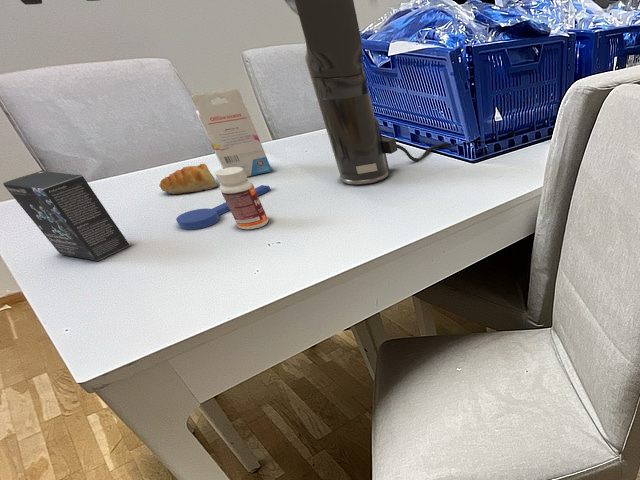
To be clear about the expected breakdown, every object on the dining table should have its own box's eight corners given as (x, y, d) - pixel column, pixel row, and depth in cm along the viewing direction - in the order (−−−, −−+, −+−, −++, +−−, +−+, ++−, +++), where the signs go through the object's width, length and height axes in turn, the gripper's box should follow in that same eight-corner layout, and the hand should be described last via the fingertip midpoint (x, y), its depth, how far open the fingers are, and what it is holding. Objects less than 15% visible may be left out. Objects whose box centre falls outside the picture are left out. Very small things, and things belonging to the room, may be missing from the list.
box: (59, 255, 68) (0, 182, 60) (95, 240, 71) (43, 169, 64) (97, 262, 66) (40, 187, 58) (132, 245, 70) (83, 173, 62)
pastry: (167, 199, 84) (154, 177, 81) (161, 190, 88) (149, 169, 85) (221, 187, 88) (210, 166, 85) (213, 179, 92) (203, 158, 89)
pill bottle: (272, 225, 74) (248, 171, 68) (241, 232, 72) (214, 177, 66) (265, 216, 77) (242, 163, 71) (235, 223, 75) (209, 169, 69)
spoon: (255, 188, 87) (252, 181, 86) (279, 191, 86) (277, 184, 85) (171, 227, 74) (167, 220, 74) (199, 231, 73) (195, 224, 72)
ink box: (267, 166, 97) (234, 84, 87) (273, 171, 94) (239, 88, 84) (224, 174, 94) (185, 90, 83) (229, 180, 91) (189, 94, 80)
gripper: (-109, -241, 39) (39, 5, 50) (41, -199, 49) (136, -2, 60) (-178, -234, 40) (-17, 6, 51) (-16, -194, 50) (88, 0, 61)
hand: (65, 2), depth 56 cm, fingers open, 8 cm apart
